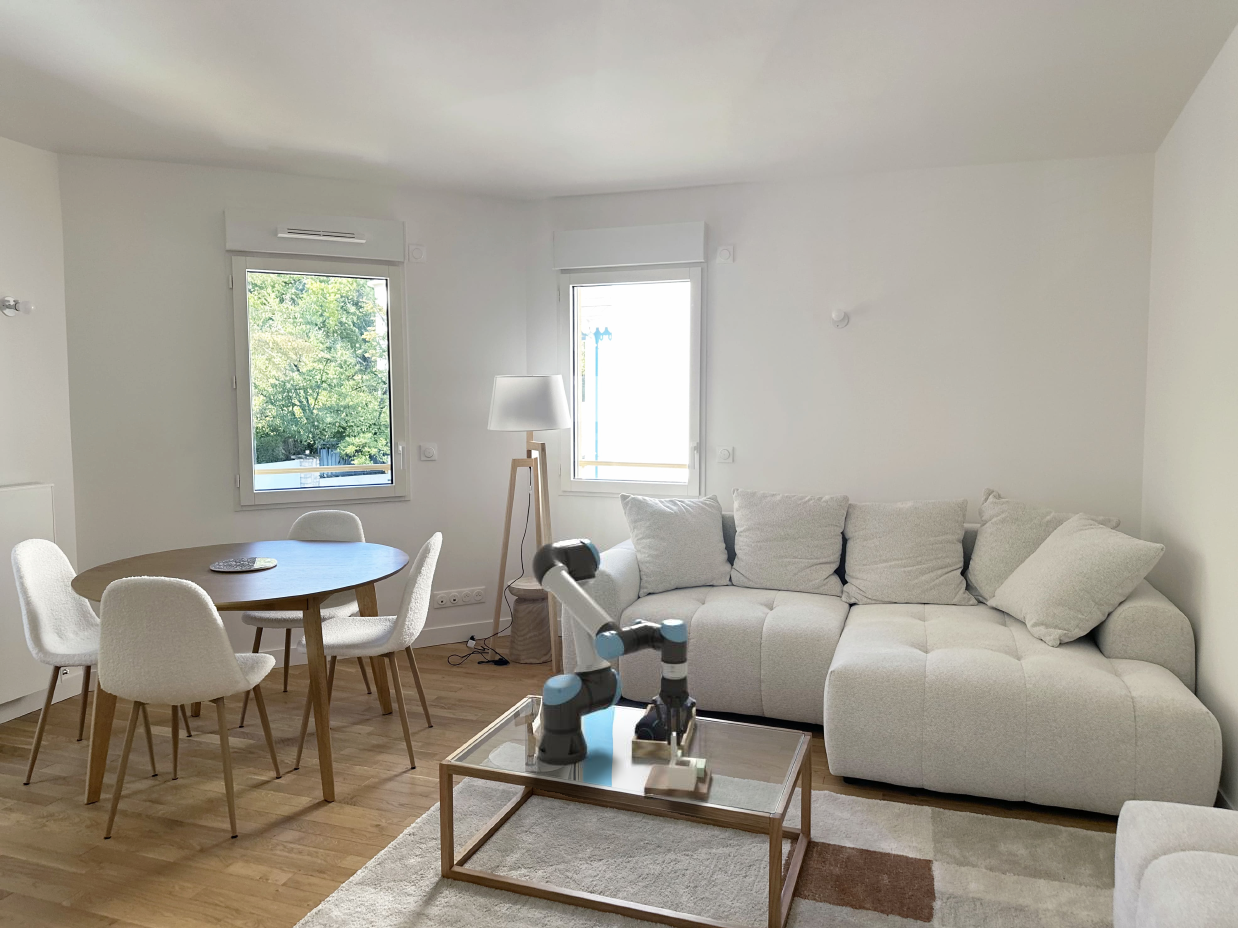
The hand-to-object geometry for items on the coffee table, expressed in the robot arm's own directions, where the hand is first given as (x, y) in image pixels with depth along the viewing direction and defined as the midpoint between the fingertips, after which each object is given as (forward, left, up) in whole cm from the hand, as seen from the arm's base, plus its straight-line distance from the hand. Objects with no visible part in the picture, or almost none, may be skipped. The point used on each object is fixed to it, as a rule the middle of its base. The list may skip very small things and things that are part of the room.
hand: (674, 755), depth 240 cm
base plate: (+2, -4, -7) cm, 8 cm away
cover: (+5, 0, -4) cm, 6 cm away
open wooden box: (-7, +28, -7) cm, 29 cm away
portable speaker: (-7, +28, -6) cm, 29 cm away
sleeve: (+3, -7, -5) cm, 9 cm away
